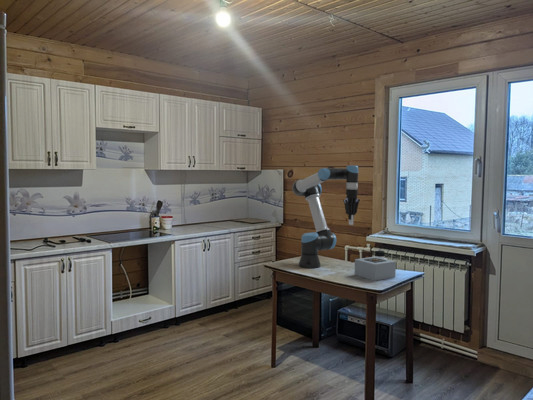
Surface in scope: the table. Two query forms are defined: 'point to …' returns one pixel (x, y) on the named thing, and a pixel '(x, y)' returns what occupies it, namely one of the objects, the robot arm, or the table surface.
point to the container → (380, 254)
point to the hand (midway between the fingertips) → (350, 224)
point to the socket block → (375, 268)
